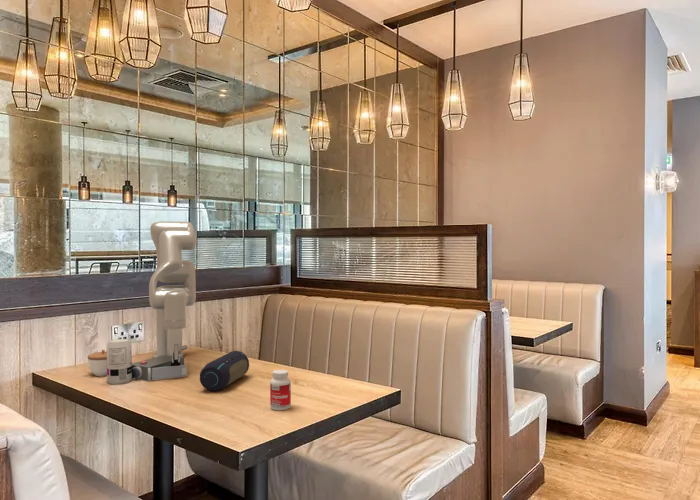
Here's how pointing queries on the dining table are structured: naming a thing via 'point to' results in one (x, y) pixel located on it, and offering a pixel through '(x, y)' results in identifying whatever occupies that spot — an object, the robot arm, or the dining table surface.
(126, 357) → the supplement can
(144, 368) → the camera body
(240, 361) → the portable speaker
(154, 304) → the robot arm
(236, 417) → the dining table surface
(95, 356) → the lidded jar
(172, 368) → the thin grey plank
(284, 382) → the pill bottle
